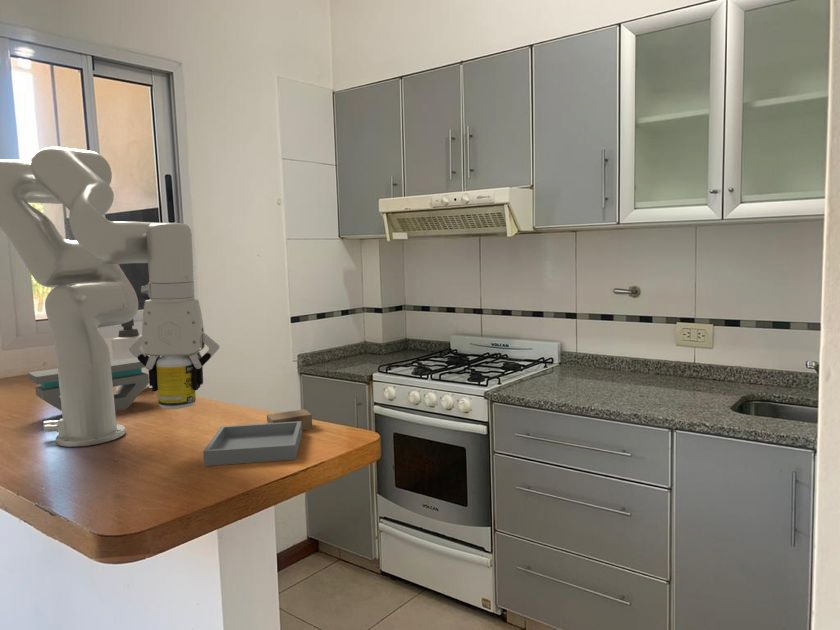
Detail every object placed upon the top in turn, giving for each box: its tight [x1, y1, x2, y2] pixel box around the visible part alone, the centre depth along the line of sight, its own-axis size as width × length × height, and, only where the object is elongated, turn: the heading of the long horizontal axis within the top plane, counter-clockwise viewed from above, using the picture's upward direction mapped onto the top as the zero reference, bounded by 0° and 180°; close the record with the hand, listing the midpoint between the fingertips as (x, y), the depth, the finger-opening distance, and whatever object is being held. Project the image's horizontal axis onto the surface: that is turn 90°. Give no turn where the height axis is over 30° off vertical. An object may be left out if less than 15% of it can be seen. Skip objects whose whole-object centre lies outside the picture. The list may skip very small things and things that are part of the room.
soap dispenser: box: [110, 318, 151, 392], centre depth 174 cm, size 6×9×22 cm
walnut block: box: [266, 408, 313, 431], centre depth 132 cm, size 8×5×3 cm, turn 116°
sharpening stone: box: [27, 357, 149, 412], centre depth 153 cm, size 25×8×11 cm, turn 132°
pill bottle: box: [156, 355, 197, 410], centre depth 118 cm, size 6×6×12 cm
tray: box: [202, 421, 303, 467], centre depth 120 cm, size 16×16×3 cm
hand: (176, 388), depth 118 cm, fingers closed on pill bottle, 6 cm apart
